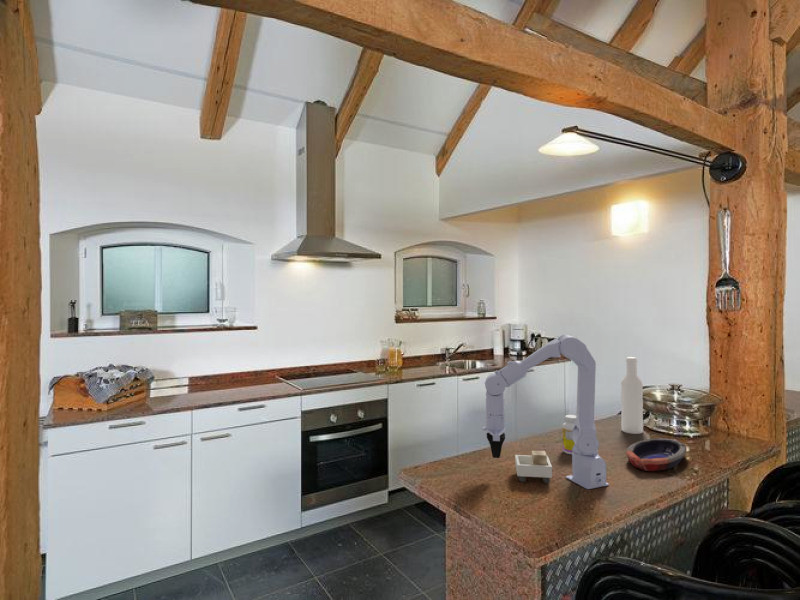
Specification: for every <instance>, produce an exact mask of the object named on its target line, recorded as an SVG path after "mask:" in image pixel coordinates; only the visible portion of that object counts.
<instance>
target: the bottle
mask: <svg viewBox="0 0 800 600" xmlns="http://www.w3.org/2000/svg"><path fill="white" fill-rule="evenodd" d="M625 361H626V375H625V376H623V377H622V379H621V381H620V386H621V387H620V391H621V392H620V396H621V397H620V403H621V405H620V406H621V407H620V409H621V411H620V412H621V414H620V415H621V423H620V425H621V426H620V427H621V431H622V432H624V433H626V434H630V435H640V434H642V433H643V432H644V416H643V415H644V412H643V410H644V407H643V406H644V405H643V402H644V398H643V394H644V393H643V390H644V389H643V387H644V386H643V381H642V378H641V377H640V376H638V374H637V372H638V371H637V369H638V368H637V365H638V364H637V363H638V359H637V357H636V356H635V357H634V356H627V357H626V360H625Z"/></svg>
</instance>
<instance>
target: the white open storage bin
mask: <svg viewBox="0 0 800 600" xmlns="http://www.w3.org/2000/svg"><path fill="white" fill-rule="evenodd" d="M514 457H515V458H514V459H515V460H514V461H515V462H514V464H515V470H516V476H517V477H518V480H519V482H520V483H525V482H526V480H527V477H529V478H530V477H531V478H542V481H543V483H544V484H550V482H551V479H550V478H553V466H552V464H551V461H550V458H549V455H547V465H532V455H530V454H529V455H526V454H525V455H523V454H515V455H514Z"/></svg>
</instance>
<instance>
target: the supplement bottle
mask: <svg viewBox="0 0 800 600" xmlns="http://www.w3.org/2000/svg"><path fill="white" fill-rule="evenodd" d="M576 415H577V414H576ZM576 415H575V414H567V415H565V416H564V419H565V422H564V423H562V451H563V452H564V453H565V454H567V455H571V456H572V448H573V446H574V444H575V443H574V442H573V440H572V438H571V432H572V430H573V428H574V426H575V420H576Z"/></svg>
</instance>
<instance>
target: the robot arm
mask: <svg viewBox="0 0 800 600" xmlns="http://www.w3.org/2000/svg"><path fill="white" fill-rule="evenodd" d="M561 355H563V356H564V357H565V358H567V359H569V360H570V361H572V362H573V363H574V364H575V366H577V382H576V383H577V389H576V420H575V426H574V428H573V430H572V432H571V438H572V440H573V442H574V443H575V444H574V446H573V448H572V455H571V460H572V462H571V465H572V474H570V475H566V476H565V478H566V479H567V480H570V481H571V482H573V483H575V484H577V485H579V486H580V487H583V488H584V489H586V490H591V489H596V488H601V487H606V486H609V485H610V483H608V482H607V463H606V461H605V459H603V458H602V457H601V456H600V455H599V451H598V450H599V447H600V442H599V439H598V438H597V437H598V436H597V428H596V425H595V403H596V402H595V400H596V399H595V398H596V397H595V395H596V371H597V370H596V368H597V367H596V366H597V364H596V360H595V358H594V357H593V355H592V353H591V352H590V351H589V349H588V348H587V345H586V344H585V343H584V342H582V341H581V340H580V339H578V338H577V337H574V336H572V335H571V334H561V335H560V336H559V337H557V338H555V339H553V340H550V341H549V342H548V343H545V344H544V345H542V347H539V348H538V349H537V350H536V351H534V352H533V353H531V354H530V355H528V356H527V357H526V358H524V359H522V360H521V361H519V360H513V361H512V360H509V361H507V365H506V366H504V367H502V368H500V369H499V370H497V369H496V370H495V371H494V373H493V374H489V375H488V376H487V377H486V378H485V382H484V385H485V390H486V392H485V397H486V398H485V424H486V425H485V426H482V431H486V432H487V433H486V439H487V441H488V443H489V445H490V450H491V456H492V458H493V459H500V458H501V455H502V454H501V453H502V447H503V443H504V441H505V439H506V434H505V432H506V430H507V429H506V418H505V417H506V415H505V414H506V413H505V412H506V411H505V410H506V409H505V407H506V406H505V397H504V392H505V389H506V388H509V387H511V386H512V385H514V384H516V383H518V382H519V381H521V380H522V379H524V378H525V377H527V376H526V375H527V371H528V370H530V369H532V368H533V367H535V366H537V365H538V364H541V363H542V362H544V361H545V360H547V359H549V358H561V357H562V356H561Z"/></svg>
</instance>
